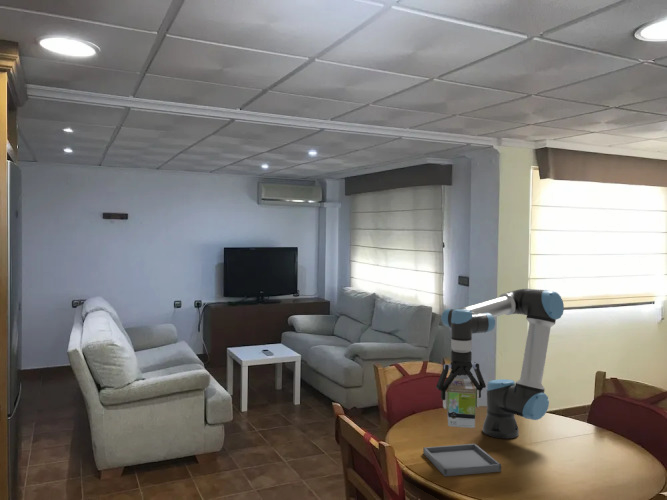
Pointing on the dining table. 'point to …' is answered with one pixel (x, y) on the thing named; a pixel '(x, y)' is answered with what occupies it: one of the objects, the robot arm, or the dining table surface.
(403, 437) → the dining table surface
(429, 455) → the tray
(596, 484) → the dining table surface
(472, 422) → the tea box
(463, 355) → the robot arm
